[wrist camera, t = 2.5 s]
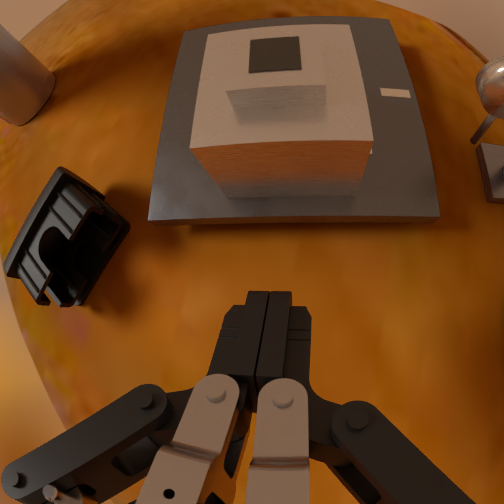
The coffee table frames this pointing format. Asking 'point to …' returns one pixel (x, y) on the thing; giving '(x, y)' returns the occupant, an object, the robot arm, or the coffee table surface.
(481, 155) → the dial indicator stand
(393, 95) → the grey flat square slab
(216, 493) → the robot arm
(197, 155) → the cover
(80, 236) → the end cap
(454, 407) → the coffee table surface
